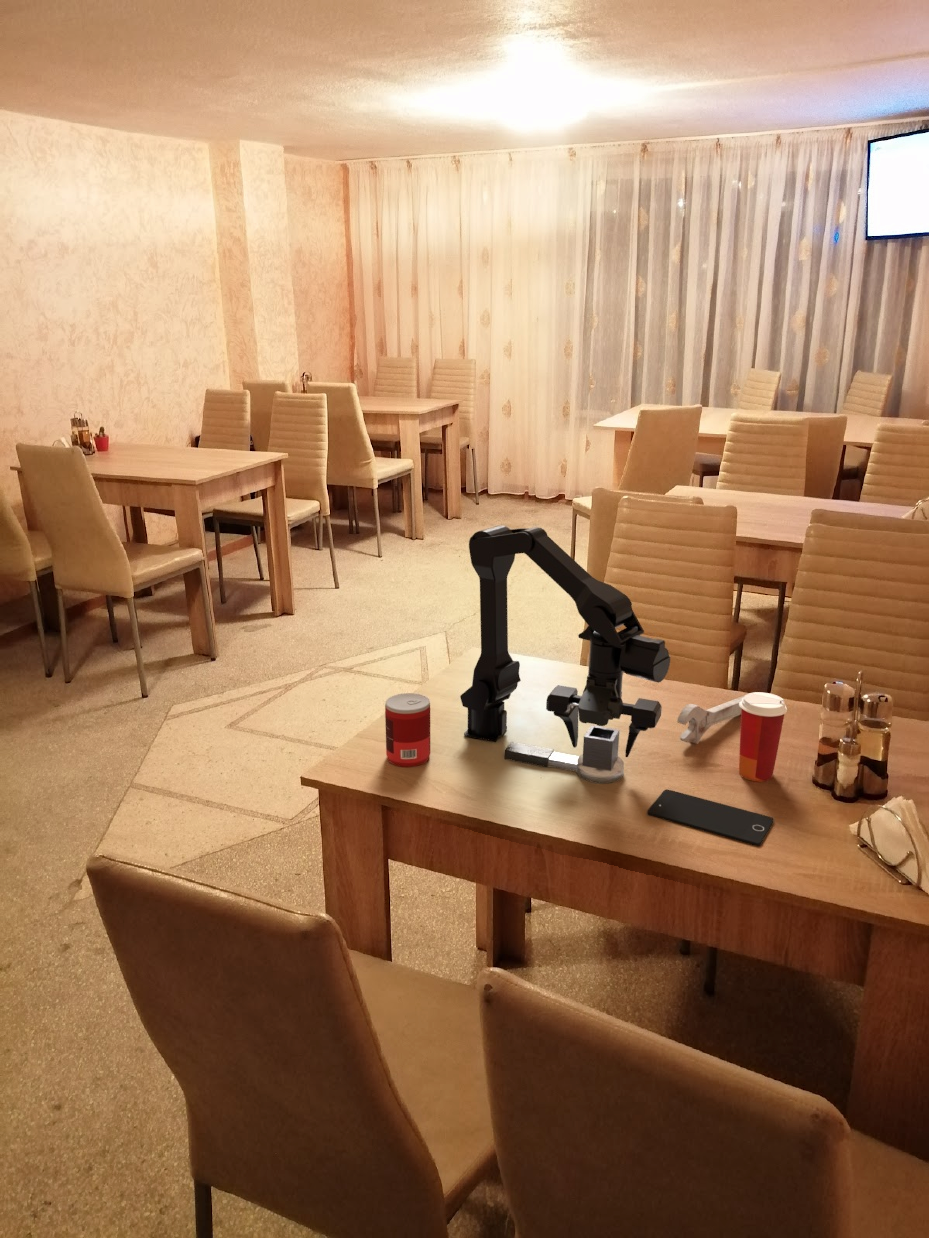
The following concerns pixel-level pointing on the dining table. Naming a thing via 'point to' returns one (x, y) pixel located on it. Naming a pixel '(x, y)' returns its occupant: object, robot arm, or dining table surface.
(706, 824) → the cell phone
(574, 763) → the ratchet
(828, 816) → the dining table surface
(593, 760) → the socket
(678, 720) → the wrench
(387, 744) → the canned food
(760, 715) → the paper cup
